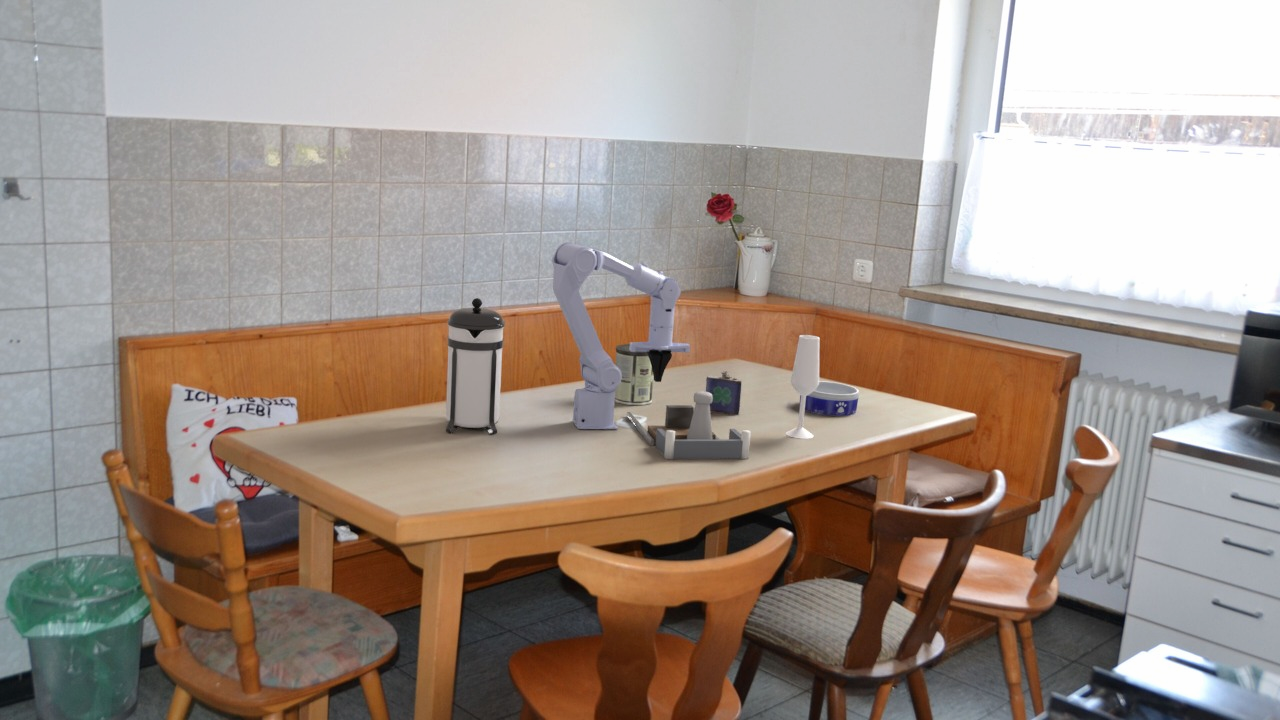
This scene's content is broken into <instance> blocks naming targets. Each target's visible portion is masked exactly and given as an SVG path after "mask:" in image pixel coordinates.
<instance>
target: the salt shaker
mask: <svg viewBox="0 0 1280 720" xmlns="http://www.w3.org/2000/svg"><path fill="white" fill-rule="evenodd" d="M712 400H713V396H712V394H711V393H709V392H706V390H705V391H704V390H701V391H696V392H694V394H693V402H694V403H695V405H694V412H693V417H692V420H691V424H690V428H689V432H688V435H687V439H713V438H712V432H713V429H712V418H711V417H712V416H711V412H710V404H711V403H712Z"/></svg>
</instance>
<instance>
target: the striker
mask: <svg viewBox="0 0 1280 720" xmlns="http://www.w3.org/2000/svg"><path fill="white" fill-rule="evenodd" d="M665 406H666V407H665V418H664V419H665V422H664V425H647V430H646V431H647V432H648V433H649V434H650V435H651V437H652V438H653V439H654V440H655V442H654V444H656V433H657V429H663V430H664V431H665V432H666V431H667V430H673V431H675V439H687V435H688V432H689V428H690V424H691V420H692V417H693V413H694V409H695V406H693V405H687V404H686V405H675V404H672V405H671V404H669V405H668V404H666V405H665ZM716 436H717V435H716V434H715V433H714V432H713V431H712V438H713V439H715V438H716Z"/></svg>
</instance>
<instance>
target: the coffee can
mask: <svg viewBox="0 0 1280 720" xmlns="http://www.w3.org/2000/svg"><path fill="white" fill-rule="evenodd" d="M629 348H630V343H625V344H619V345H616V347H615V363H614V365H616V366H617V367H618V368H619V369H620V371H621V374H622V379H621V383H620V385H619V386H618V387H617V388H616V392H615V403H617V404H621V405H625V406H626V405H627V406H645V405H650V404H651V403H652V402H653V387H654V386H653V385H654V383H653V382H654V376H653V369H652V365H651V362H650V359H649V357H648V354H647V351H635V352H631V351H630V350H629Z"/></svg>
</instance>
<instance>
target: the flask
mask: <svg viewBox="0 0 1280 720" xmlns="http://www.w3.org/2000/svg"><path fill="white" fill-rule="evenodd" d="M728 372H729V371H728V370H724V371H721V376H718V375H717V376H716V375H708V376H706V379H705V381H706V382H705V383H706V384H705V392H709V393H711V394H712V396H713V400H712V403H711V404H710V413H718V414H726V415H732V416H739V415H740V407H741V395H742V380H741V379H739V378H737V377H732V376H730V375H729V374H728Z"/></svg>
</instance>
